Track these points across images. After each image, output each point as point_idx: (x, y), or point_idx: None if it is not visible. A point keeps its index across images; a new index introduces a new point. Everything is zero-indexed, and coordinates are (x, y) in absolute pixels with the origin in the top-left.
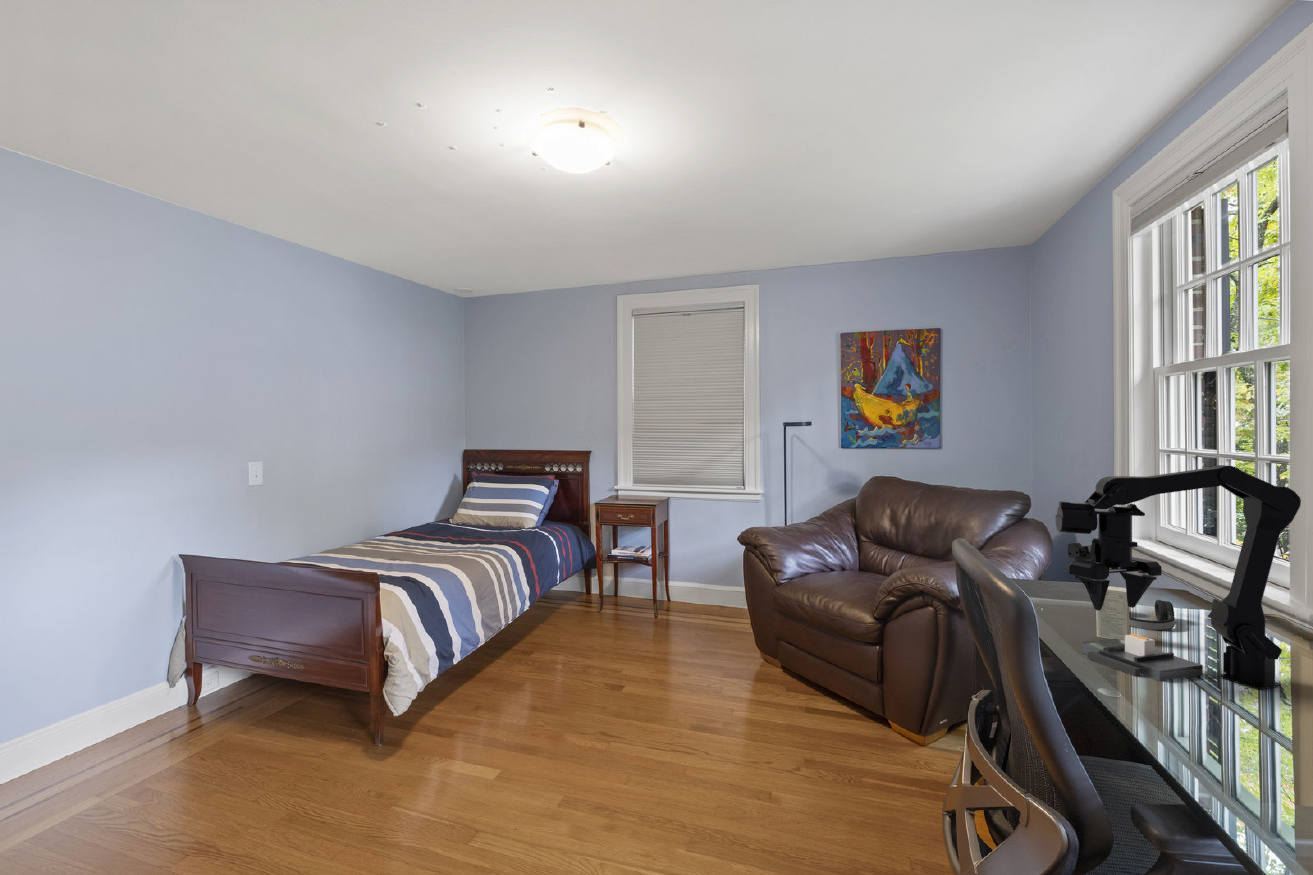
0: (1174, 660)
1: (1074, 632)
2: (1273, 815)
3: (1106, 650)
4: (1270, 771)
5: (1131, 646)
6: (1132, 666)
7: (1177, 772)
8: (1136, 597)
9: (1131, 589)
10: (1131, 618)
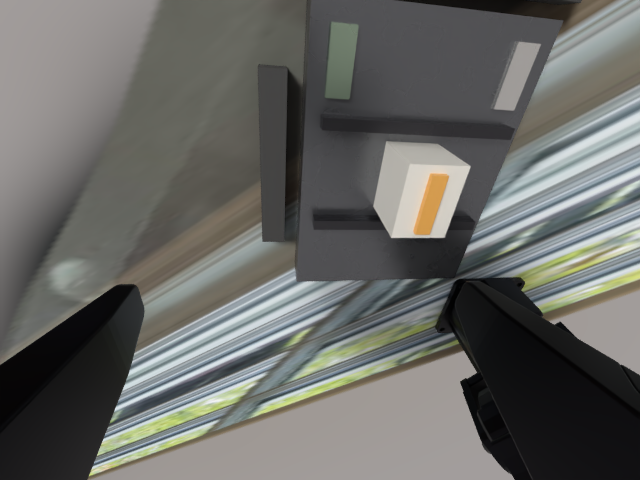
0: (430, 242)
1: None
2: None
3: (321, 114)
4: (121, 453)
5: (389, 176)
6: (278, 224)
7: None
8: (493, 390)
9: (568, 424)
10: None
